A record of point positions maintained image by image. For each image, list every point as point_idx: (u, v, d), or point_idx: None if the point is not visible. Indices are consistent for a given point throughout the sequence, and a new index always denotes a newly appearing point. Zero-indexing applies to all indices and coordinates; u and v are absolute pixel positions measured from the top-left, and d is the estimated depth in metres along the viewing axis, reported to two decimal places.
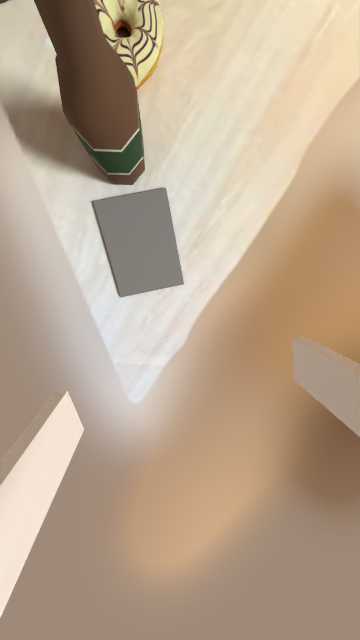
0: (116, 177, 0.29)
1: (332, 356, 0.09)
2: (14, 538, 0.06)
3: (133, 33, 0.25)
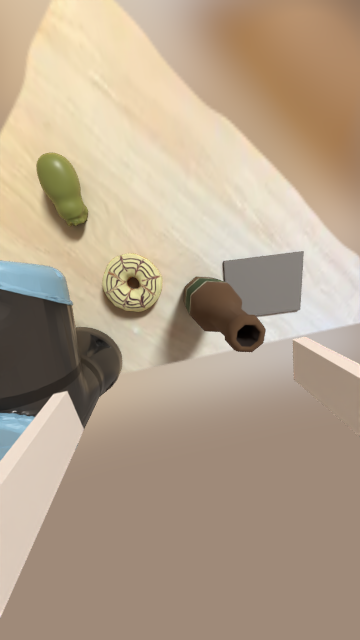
0: None
1: (332, 356, 0.09)
2: (14, 538, 0.06)
3: (137, 275, 0.36)
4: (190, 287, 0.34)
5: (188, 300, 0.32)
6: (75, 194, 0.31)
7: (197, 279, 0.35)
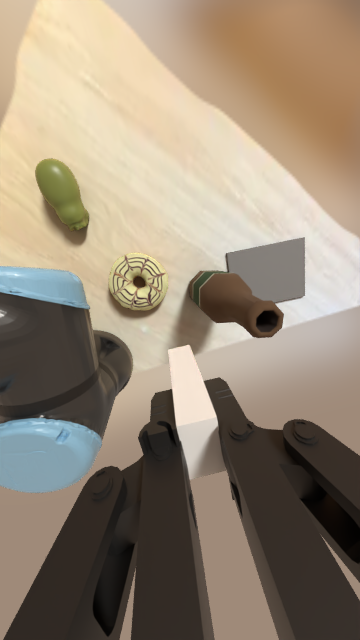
0: None
1: (188, 362, 0.11)
2: None
3: (143, 274, 0.36)
4: (197, 281, 0.34)
5: (196, 294, 0.32)
6: (76, 198, 0.31)
7: (203, 273, 0.35)
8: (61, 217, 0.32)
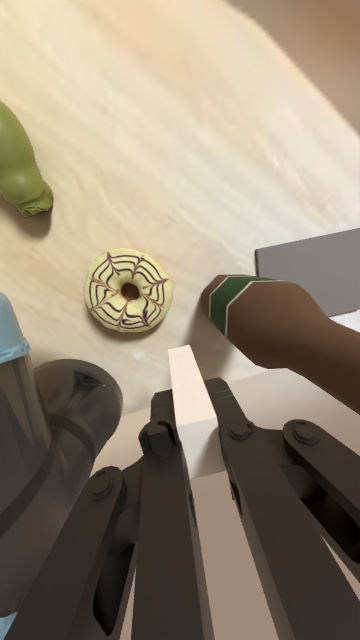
0: None
1: (188, 362, 0.11)
2: None
3: (136, 281, 0.24)
4: (217, 292, 0.22)
5: (219, 313, 0.20)
6: (26, 162, 0.19)
7: (225, 279, 0.23)
8: (3, 193, 0.20)
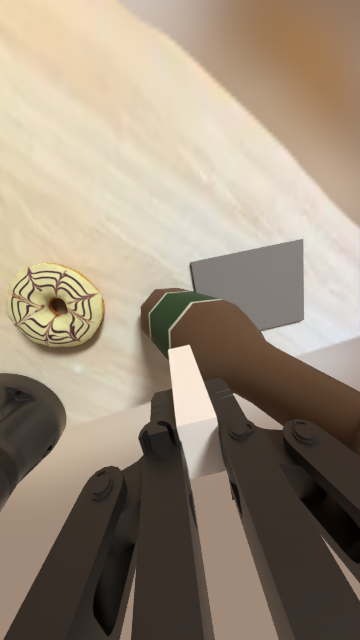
0: None
1: (188, 362, 0.11)
2: None
3: (60, 296, 0.23)
4: (156, 311, 0.21)
5: (160, 336, 0.19)
6: None
7: (163, 295, 0.22)
8: None
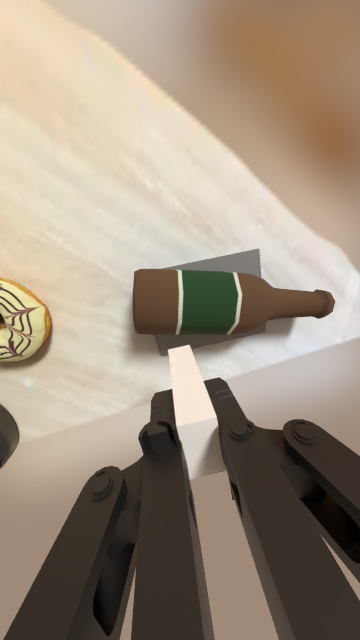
0: None
1: (188, 362, 0.11)
2: None
3: None
4: None
5: (216, 281, 0.21)
6: None
7: None
8: None
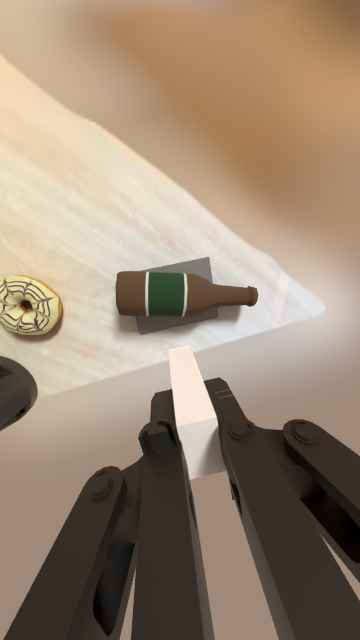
0: None
1: (188, 362, 0.11)
2: None
3: (27, 298, 0.33)
4: (155, 272, 0.33)
5: (171, 279, 0.32)
6: None
7: None
8: None
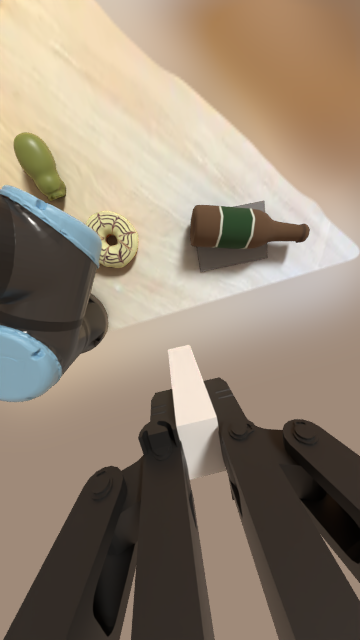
0: None
1: (188, 362, 0.11)
2: None
3: (114, 231, 0.39)
4: None
5: (240, 211, 0.37)
6: (51, 169, 0.35)
7: None
8: (39, 186, 0.36)
